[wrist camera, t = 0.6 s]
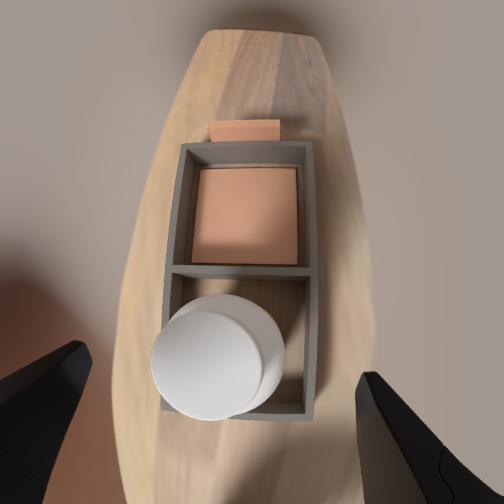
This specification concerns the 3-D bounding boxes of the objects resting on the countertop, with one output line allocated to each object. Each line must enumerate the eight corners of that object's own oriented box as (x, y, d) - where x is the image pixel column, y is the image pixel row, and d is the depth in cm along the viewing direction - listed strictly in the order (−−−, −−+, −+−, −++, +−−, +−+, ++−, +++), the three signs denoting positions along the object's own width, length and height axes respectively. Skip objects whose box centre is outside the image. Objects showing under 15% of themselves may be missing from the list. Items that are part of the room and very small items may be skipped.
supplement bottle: (247, 286, 24) (220, 251, 11) (297, 347, 23) (324, 380, 10) (186, 333, 23) (104, 344, 11) (234, 394, 22) (195, 464, 9)
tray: (308, 408, 21) (316, 430, 16) (173, 400, 22) (151, 416, 17) (308, 151, 26) (313, 120, 22) (191, 153, 27) (176, 124, 22)
